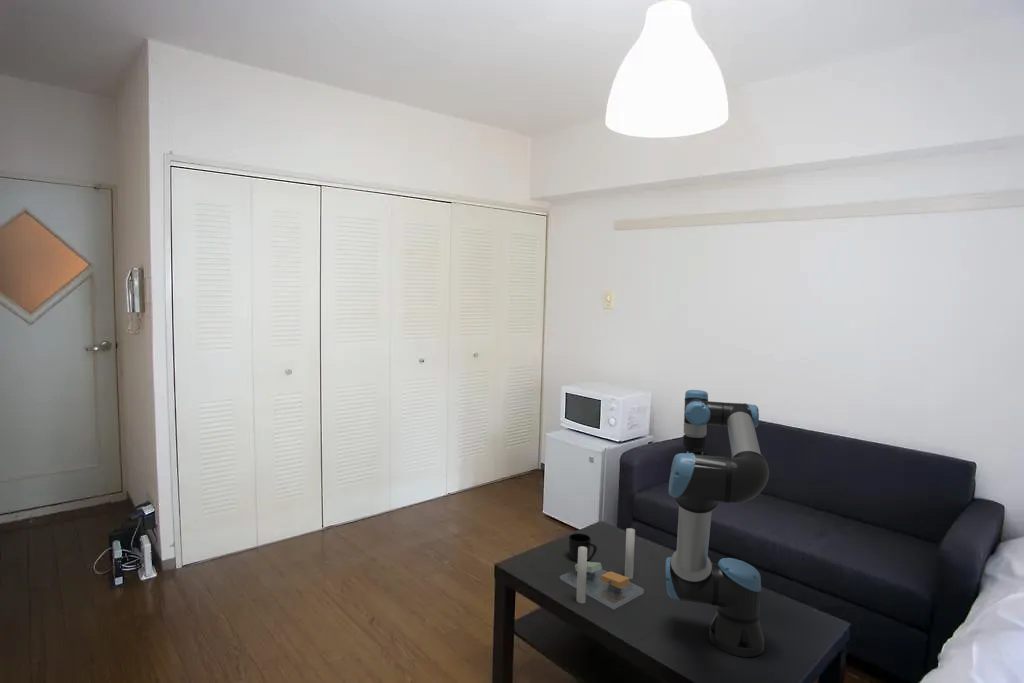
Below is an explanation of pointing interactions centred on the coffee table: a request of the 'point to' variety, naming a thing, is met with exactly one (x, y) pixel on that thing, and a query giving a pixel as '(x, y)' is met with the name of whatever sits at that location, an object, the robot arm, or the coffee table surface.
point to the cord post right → (629, 552)
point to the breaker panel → (604, 589)
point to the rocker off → (615, 579)
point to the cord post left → (581, 574)
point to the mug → (578, 541)
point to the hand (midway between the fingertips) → (691, 502)
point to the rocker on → (591, 566)
